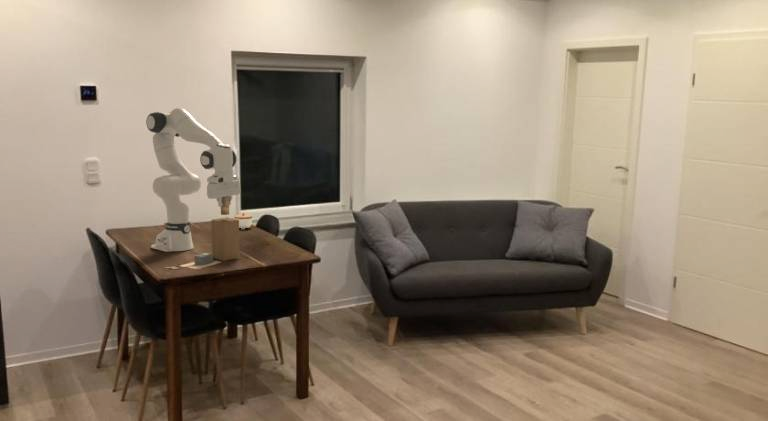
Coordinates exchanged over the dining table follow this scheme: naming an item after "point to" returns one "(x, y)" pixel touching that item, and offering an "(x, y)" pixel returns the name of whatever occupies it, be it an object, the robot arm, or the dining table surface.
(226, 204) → the peg
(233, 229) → the wooden block
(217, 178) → the robot arm
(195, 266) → the plywood panel
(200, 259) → the grey rectangular block
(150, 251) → the dining table surface
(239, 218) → the lidded jar
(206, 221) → the dining table surface
